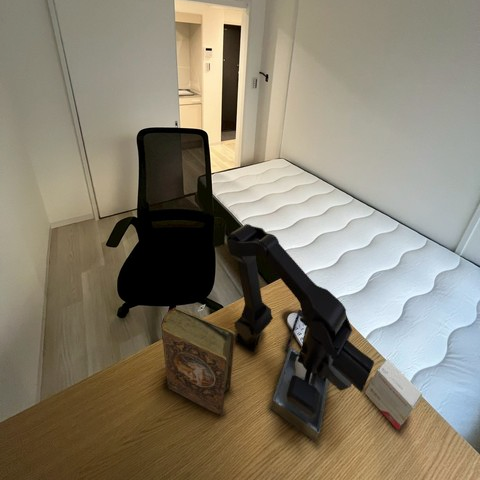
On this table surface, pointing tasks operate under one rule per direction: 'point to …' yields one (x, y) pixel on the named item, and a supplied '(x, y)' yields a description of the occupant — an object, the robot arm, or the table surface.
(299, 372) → the usb wall charger
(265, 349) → the table surface
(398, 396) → the ink box
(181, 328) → the book
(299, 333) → the table surface
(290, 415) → the sink
